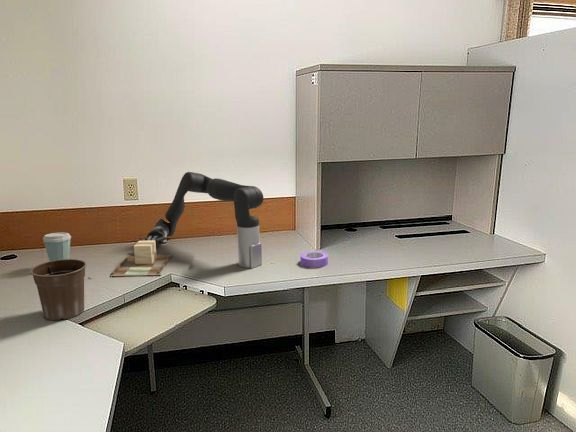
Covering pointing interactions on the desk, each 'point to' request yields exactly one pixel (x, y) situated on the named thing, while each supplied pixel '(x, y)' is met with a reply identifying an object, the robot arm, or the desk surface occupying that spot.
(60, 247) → the disposable coffee cup
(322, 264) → the masking tape
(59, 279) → the plant pot
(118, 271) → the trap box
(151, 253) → the block
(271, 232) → the desk surface
